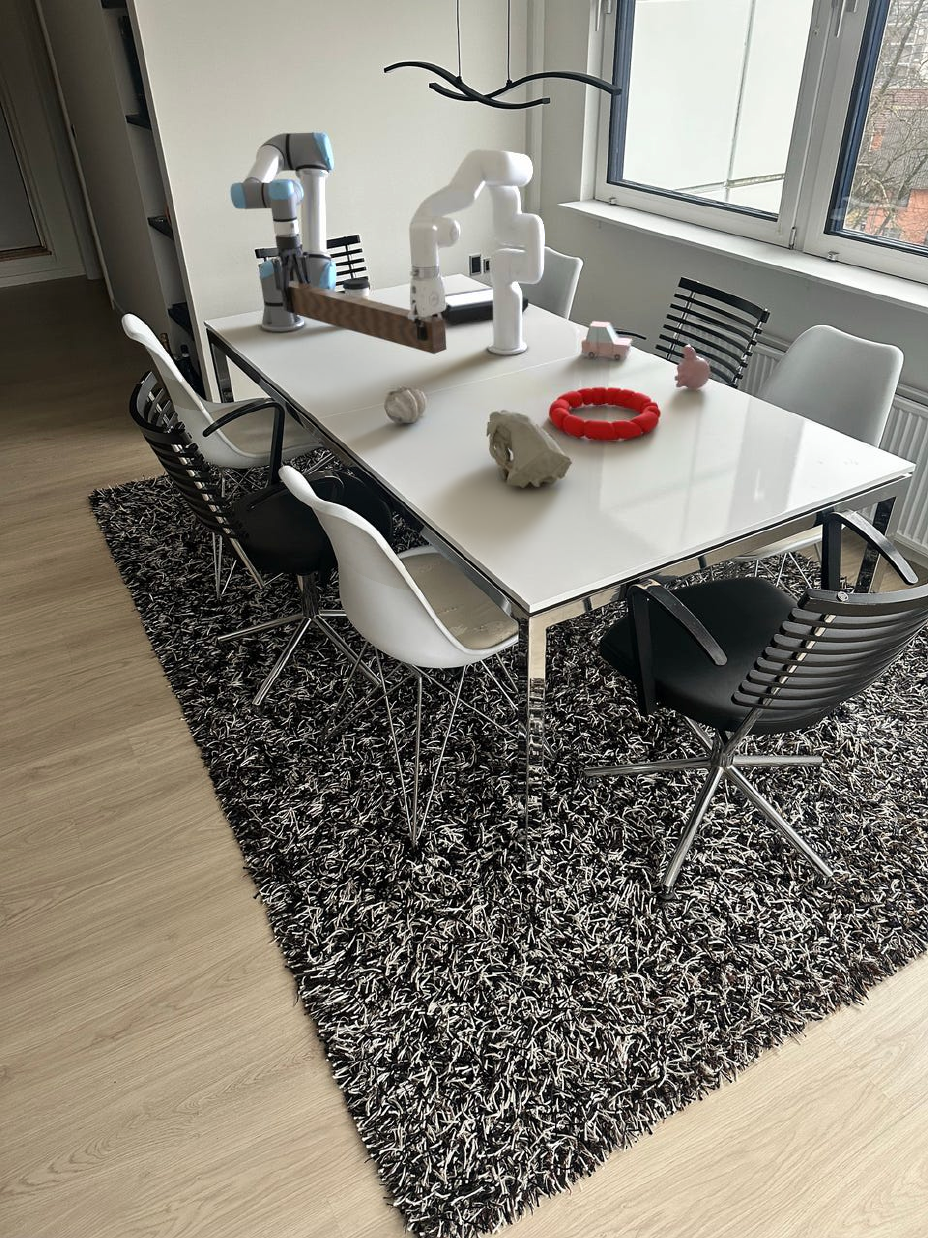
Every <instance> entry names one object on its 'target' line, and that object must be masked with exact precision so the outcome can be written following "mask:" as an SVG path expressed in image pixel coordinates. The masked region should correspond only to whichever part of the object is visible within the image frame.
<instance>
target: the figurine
mask: <svg viewBox="0 0 928 1238" xmlns="http://www.w3.org/2000/svg"><path fill="white" fill-rule="evenodd" d="M682 354H683V358H684V359H683V361H682V362H679V363H678V364H677V365H676V372H677V375H675V376H674V381H675V382H676V381H677V382H676V384H675V386H676V388H681V387H686V388H688V389H693V390H694V389H695V390H696V389H700V388H703V387H704V386H705V385H706V384H707V383H708V382H709V379H710V377H711V367H710V364H709V362H708V361H706V359H704V358H702V357H700V356H697V353H696V350H695V349H694V347H692V345H690V344H686V345H685V346H684V347H683V348H682Z"/></svg>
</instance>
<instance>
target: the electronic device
mask: <svg viewBox="0 0 928 1238" xmlns="http://www.w3.org/2000/svg"><path fill="white" fill-rule="evenodd" d="M445 300H446V303H447V305H448V306H447V308H446V310H445V311H444V314H443V316H442V318H443V319H445V322H447V323H449V324H450V325H456V324H463V323H469V322H475V321H477V322H478V321H483V320H489V319H493V288H492V287H488V288H482V289H481V288H480V289H474V290H468V291H460V292H454V293H453V292H452V293H448V294H445ZM528 307H529V298H527V297H526V296H524V295H522V314H524V312H525V311H526V310H527V308H528Z"/></svg>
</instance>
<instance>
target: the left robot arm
mask: <svg viewBox="0 0 928 1238" xmlns="http://www.w3.org/2000/svg"><path fill="white" fill-rule="evenodd" d="M334 164H335V161H334V155H333V149H332V145H331V141H330V139H329V136H328V135H327V134H326V133H324V132H315V131H312V132H283V133H279V134H277V135H274V136H272V137H271V138H269V139H268V140H266V141H265V142H264V143H262V144H261V146H260V147H259V148H258V150H257V152H256V155H255V161H254V163H253V165H252V167H251V168H250V170H249V172H248V174H247V175H246V177H245V179H244V180H243V182H240V181H239V182H234V183H232V184H231V186H230V199H231V203H232V206H233V207H234V208H236V209H240V210H243V209H244V210H256V209H258V210H259V209H271V216H272V224H273V225H272V226H273V231H274V232H273V233H274V234H275V238H274V239H275V244H276V249H277V256H276V257H275V258H273V257H272V258H271V259H268V260H265V261H263V262H261V263H260V265H259V266H258V270H259V281H260V287H261V292H262V293H261V294H262V299H263V313H262V319H261V326H262V330H264V331H265V332H271V333H286V332H293V331H296V330H297V331H298V330H300V329H302V328H304V326H305V319H304V317H303V316H299V315H296V314H292V313H289V312H294V311H293V304H292V296H291V292H290V291H289V281H296V282H300V283H304V284H308V285H312V286H316V287H320V288H324V289H328V290H332V291H335V288H336V284H337V265H336V263H335V262H334V261H332V256H331V255H330V254H329V253H328V251H327V250H328V249H327V217H326V216H327V214H326V181H327V179H328V178H329V177H330V171H333V170H334V168H335V167H334V166H335V165H334ZM290 171H291V172H293V171H294V172H295V176H296V177H297V178H298V179H299V182H298V181H297V180H295V179H287V178H277V179H275V177H276V176H277V175H278V174H280V173H281V172H290ZM299 205H300V221H301V222H300V223H301V224H300V225H301V228H300V229H301V238H300V235H299V231H300V230H299V224H298V223H299V222H298V216H297V206H299ZM281 291H282V294H283V300H284V302H285V303H286V310H287V311H288V312H285V311H284V307H283V300H282V294H281Z"/></svg>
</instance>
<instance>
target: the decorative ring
mask: <svg viewBox="0 0 928 1238" xmlns="http://www.w3.org/2000/svg"><path fill="white" fill-rule="evenodd" d="M583 405H584V406H586V407H587V406H591V405H593V406H604V405H608V406H614V407H619V408H624V409H628V410H632V411H635V412H636V413H638V414H639V415H637V416H635V417H632V418H631V419H630V420H625V419H624V420H623V419H622V420H614V421H611V422H609V421H607V420H606V421H605V420H593V419H587V420H586V421H585V419H584V418H582V417H579V416H577V415H573V414H571V413H570V410H571V409H579V408H581V407H582V406H583ZM548 416H549V419H550V422H551V423H552V425H553V426H554V427H555V428H556V429H558V430H559V431H561V432H563V433H567V434H568V435H569V436H573V437H576V438H580V439H582V438H583V437H585V438H586V439H587V440H591V441H601V442H602V441H603V442H608V441H609V442H610V441H611V442H612V441H615V442H616V441H618V440H630V439H634V438H638V437H641V436H642V434H647V433H650V432H651V431H653V430H654V429H655V428H656V427H657V426H658V424H659V422H660V421H659V420H660V417H661V410H660V408H659V405H658V403H657V402H656V401H652V399H651V397H649V396H648V395H646V394H644V393H642V392H635V391H634V390H632V389H628V388H624V389H622V388H620V387H613V386H612V387H611V386H610V387H608V388H606V387H604V386H594V387H585V388H584V387H583V388H580V389H578V390H571V391H568V392H565V393H563V394H561V395H560V396H558V397H557V398H556V400H554V401H552V403H551V404H550V407H549V409H548Z"/></svg>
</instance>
